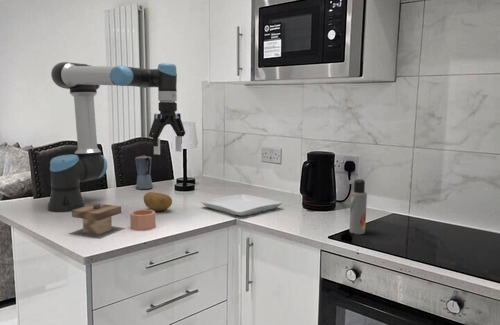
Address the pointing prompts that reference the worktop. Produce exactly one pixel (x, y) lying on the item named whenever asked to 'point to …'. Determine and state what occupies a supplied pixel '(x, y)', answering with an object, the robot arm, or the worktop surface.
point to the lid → (96, 211)
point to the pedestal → (97, 225)
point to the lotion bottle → (358, 208)
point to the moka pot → (143, 172)
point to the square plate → (241, 204)
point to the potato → (157, 201)
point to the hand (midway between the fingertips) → (168, 152)
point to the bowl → (142, 219)
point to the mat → (81, 233)
